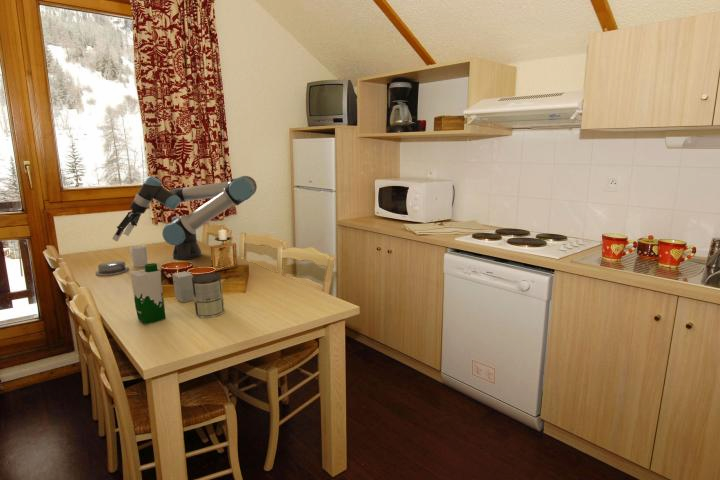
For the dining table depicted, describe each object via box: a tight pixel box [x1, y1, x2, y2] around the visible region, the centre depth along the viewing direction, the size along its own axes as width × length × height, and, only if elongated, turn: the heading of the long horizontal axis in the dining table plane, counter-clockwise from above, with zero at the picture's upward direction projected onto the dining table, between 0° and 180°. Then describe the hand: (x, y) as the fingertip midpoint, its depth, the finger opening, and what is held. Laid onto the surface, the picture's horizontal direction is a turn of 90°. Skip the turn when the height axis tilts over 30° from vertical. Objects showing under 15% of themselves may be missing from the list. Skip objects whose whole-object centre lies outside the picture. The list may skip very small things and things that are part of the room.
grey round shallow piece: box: [95, 260, 130, 277], centre depth 229 cm, size 15×15×4 cm
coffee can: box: [192, 272, 226, 319], centre depth 167 cm, size 10×10×14 cm
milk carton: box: [130, 262, 166, 325], centre depth 161 cm, size 9×9×20 cm
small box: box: [171, 271, 194, 303], centre depth 183 cm, size 8×6×10 cm
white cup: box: [129, 244, 149, 268], centre depth 239 cm, size 8×8×10 cm
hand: (120, 237), depth 237 cm, fingers open, 13 cm apart
